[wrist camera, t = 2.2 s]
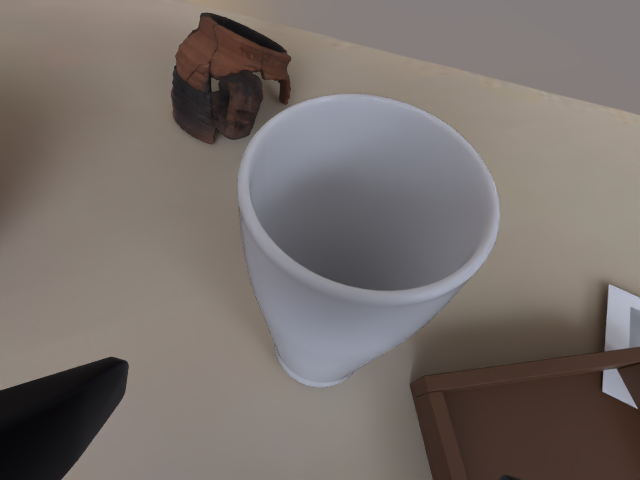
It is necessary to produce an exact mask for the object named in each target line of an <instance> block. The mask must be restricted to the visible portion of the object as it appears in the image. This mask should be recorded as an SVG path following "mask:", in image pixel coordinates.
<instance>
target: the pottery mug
mask: <svg viewBox="0 0 640 480" xmlns="http://www.w3.org/2000/svg"><path fill="white" fill-rule="evenodd" d="M175 57H176V61H177V62H176V66H174V71H173V82H172V84H173V88H172V90H171V98H172V105H173V117H174V119H175V121H176V122H177V124H178V125H179V126H180V127H181V128H182V129H183V130H185V131H186V132H187V133H188V134H190V135H192V136H193V137H195V138H197V139H200V140H201V141H204V142H206V143H209V144H213V143H214V141H215V135H214V134H215V132H216V128H217V129H218V131H219V132H220V133H221V134H222V135H224V136H225V137H227V138H229V139H232V140H236V139H240V138H244V137H246V136H248V135H249V134H250V132H251V129H252V128H253V125H254V122H255V119H256V116H257V113H258V110H259V108H260V104H261V102H262V100H263V91H262V82H261V80H260V78H259V77H258V76H256V75H254V74H252V72H259V71H260V72H261V75H262V78H263V79H264V80H271V79H272V80H275V81H278V82H279V83H280V94H279V100H280V102H281V103H283V104H285V105H287V104H288V99H289V98H290V95H289V94H290V90H291V88H290V79H289V75H288V72H287V66H288V64H289V62H290V61H291V57H290V56H289V55H288V54H287V51H286V50H285V49H284V48H283V47H281V46H280V45H279V44H277V43H276V42H274V41H272V40H271V39H269V38H268V37H266V36H264V35H262V34H260V33H258V32H256V31H255V30H252V29H250V28H248V27H246V26H244V25H242V24H240V23H237V22H235V21H233V20H231V19H228V18H226V17H222V16H219V15H216V14H212V13H202V14H201V15H200V22H199V27H198V28H197V29H196V30H193V31H192V32H191V34H189V36H188V37H187V38H186V39H185V40H184V42H183V43H182V44H180V45H179V50H178V52H177V54H176V55H175ZM211 77H212V78H214V79H216V80H219V83H218V86H219V90H220V91H216V92H212V91H211Z"/></svg>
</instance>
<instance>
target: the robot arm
mask: <svg viewBox="0 0 640 480" xmlns="http://www.w3.org/2000/svg"><path fill="white" fill-rule="evenodd" d="M128 368H129V365H128V362H127V361H125V360H122V359H119V358H115V357H108V358H105V359H102V360H98V361H95V362H92V363H88V364H85V365H82V366H79V367H75V368H72V369H69V370H66V371H62V372H59V373H56V374H53V375H49V376H46V377H43V378H40V379H36V380H33V381H30V382H27V383H23V384H20V385H17V386H13V387H10V388H7V389H4V390H0V480H61V479H62V478H63V477H64V476H65V475H66V474H67V472H68V471H69V470H70V469H71V468H72V466H73V465H74V464H75V463H76V462H77V460H78V459H79V458H80V456H81V455H82V454H83V453H84V451H85V450H86V448H87V447H88V446H89V444H90V443H91V442H92V440H93V439H94V437H95V436H96V435H97V433H98V432H99V431H100V429H101V428H102V426H103V425H104V424H105V422H106V421H107V419H108V418H109V417H110V415H111V414H112V413H113V411H114V410H115V408H116V407H117V406H118V404H119V403H120V401H121V400H122V398H123V396H124V394H125V390H126V383H127V376H128ZM499 480H522V479H519V478H516V477H513V476H509V475H502V476H501V477H500V479H499Z"/></svg>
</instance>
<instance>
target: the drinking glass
mask: <svg viewBox="0 0 640 480" xmlns="http://www.w3.org/2000/svg"><path fill="white" fill-rule="evenodd" d="M237 195H238V204H239V217H240V228H241V236H242V244H243V250H244V256H245V261H246V266H247V270H248V274H249V278H250V282H251V285H252V288H253V291H254V294H255V297H256V300H257V302H258V305H259V308H260V310H261V312H262V315H263V317H264V320H265V322H266V324H267V327H268V329H269V332H270V334H271V337H272V339H273V342H274V348H275V353H276V356H277V359H278V361H279V363H280V364H281V366H282V368H283V369H284V370H285V371H286V373H287V374H288V375H289V376H291V377H292V378H293V379H294V380H296V381H298V382H299V383H302V384H304V385H307V386H311V387H317V388H324V387H330V386H334V385H337V384H339V383H341V382H343V381H345V380H346V379H348V378H349V377H350V376H351V375H352V374H353V373H354V372H355V371H356V370H358V369H360V368H361V367H363V366H365V365H366V364H368V363H370V362H371V361H373V360H375V359H376V358H378V357H380V356H381V355H383V354H385V353H387V352H388V351H390V350H392V349H393V348H395V347H397V346H398V345H400V344H401V343H403V342H404V341H405V340H407V339H408V338H410V337H411V336H412V335H414V334H415V333H416V332H418V331H419V330H420V329H421V328H423V327H424V326H425V325H426V324H427V323H428V322H429V321H430V320H431V319H432V318H434V317H435V316H436V315H437V314H438V313H439V312H440V311H441V310H442V309H443V308H444V307H445V306H446V305H447V304H448V303H449V302H450V301H451V300H452V299H453V298H454V296H455V295H456V294H457V293H458V292H459V291H460V290H461V289H462V287H463V286H464V285H465V284H466V283H467V282H468V280H469V279H470V278H471V277H472V276H473V275H474V274H475V273H476V272H477V271H478V269H479V268H480V267H481V266H482V265H483V263H484V262H485V261H486V259H487V257H488V256H489V254H490V253H491V250H492V248H493V246H494V244H495V241H496V238H497V234H498V230H499V224H500V203H499V197H498V192H497V189H496V186H495V183H494V180H493V178H492V175H491V173H490V171H489V169H488V168H487V166H486V164H485V162H484V161H483V159H482V158H481V157H480V155H479V154H478V152H477V151H476V150H475V149H474V148H473V146H472V145H471V144H470V143H469V142H468V141H467V140H466V139H465V138H464V137H463V136H462V135H461V134H459V133H458V132H457V131H456V130H455V129H453V128H452V127H451V126H449V125H448V124H447V123H445V122H444V121H442V120H440V119H439V118H437V117H436V116H434V115H432V114H430V113H428V112H426V111H424V110H422V109H420V108H418V107H415V106H413V105H410V104H407V103H404V102H401V101H398V100H394V99H391V98H386V97H381V96H376V95H368V94H334V95H326V96H321V97H316V98H312V99H309V100H305V101H303V102H300V103H297V104H295V105H293V106H290V107H288V108H286V109H285V110H283V111H281V112H279V113H278V114H276V115H275V116H274V117H272V118H271V119H270V120H268V121H267V122H266V123H265V124H264V125H263V126H262V127H261V128H260V129H259V130H258V131H257V132H256V133H255V135H254V136H253V138H252V139H251V140H250V142H249V144H248V145H247V147H246V149H245V151H244V154H243V156H242V159H241V162H240V166H239V170H238V177H237Z"/></svg>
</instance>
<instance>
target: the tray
mask: <svg viewBox="0 0 640 480" xmlns="http://www.w3.org/2000/svg"><path fill="white" fill-rule="evenodd" d="M616 368H618V369H617V371H618V373H619V374H620V376H621V378H622V380H623V382H624V384H625V386H626V388H627V389H628V391H629V393H630V395H631V397H632V399H633V401H634V403H635V404H636V406H637V408H638V409H637V408H635V407H633V406H631V405H629V404H627V403H625V402H623V401H621V400H619V399H617V398H615V397H613V396H611V395H608V394H606V393H604V392H602V382H603V370H609V369H616ZM410 388H411V392H412V396H413V400H414V404H415V408H416V412H417V416H418V420H419V424H420V428H421V432H422V436H423V440H424V444H425V448H426V452H427V456H428V460H429V464H430V468H431V472H432V476H433V480H499V479H500V477H501V476H502V475H509V476H513V477H516V478H519V479H522V480H640V347H633V348H626V349H618V350H611V351H604V352H596V353H589V354H582V355H574V356H567V357H559V358H552V359H545V360H537V361H530V362H523V363H515V364H508V365H500V366H493V367H486V368H478V369H471V370H464V371H456V372H449V373H441V374H434V375H427V376H423V377H421V378H420V379H418V380H416V381H415V382H413V383H411V384H410Z"/></svg>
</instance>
